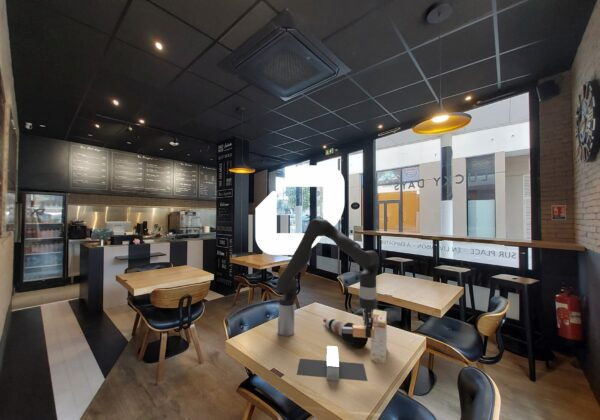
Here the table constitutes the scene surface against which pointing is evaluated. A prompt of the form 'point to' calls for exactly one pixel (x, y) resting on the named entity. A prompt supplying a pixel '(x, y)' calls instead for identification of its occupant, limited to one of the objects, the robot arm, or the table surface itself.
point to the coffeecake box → (379, 336)
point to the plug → (358, 331)
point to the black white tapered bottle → (338, 328)
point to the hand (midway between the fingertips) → (367, 334)
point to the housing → (332, 363)
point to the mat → (320, 369)
